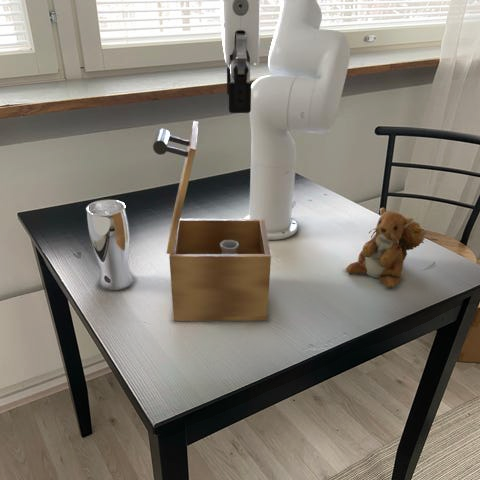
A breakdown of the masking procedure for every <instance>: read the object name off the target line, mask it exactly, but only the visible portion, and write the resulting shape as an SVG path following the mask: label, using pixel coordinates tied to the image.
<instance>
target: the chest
mask: <svg viewBox="0 0 480 480" xmlns="http://www.w3.org/2000/svg"><path fill="white" fill-rule="evenodd" d="M224 240H233V241H237V242H238V245H239V247H238V249H237V254H222V250H221V247H220V243H221V242H222V241H224ZM168 255H169V257H168V259H169V271H170V274H169V275H170V285H171V286H170V287H171V288H170V289H171V300H172V301H171V302H172V316H173V321H174V322H225V321H226V322H229V321H230V322H234V321H235V322H237V321H239V322H240V321H241V322H242V321H246V322H247V321H249V322H251V321H252V322H253V321H255V322H256V321H268V310H269V296H270V295H269V293H270V280H271V264H272V254H271V248H270V243H269V240H268V237H267V232H266V227H265V221H264V219H244V218H180V220H179V225H178V229H177V233H176V238H175V242H174V246H173V251H172V254H168Z"/></svg>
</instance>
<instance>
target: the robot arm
mask: <svg viewBox="0 0 480 480" xmlns="http://www.w3.org/2000/svg"><path fill="white" fill-rule="evenodd" d="M279 7H280V9H279V10H280V11H279V17H278V20H277V24H276V27H275V31H274V33H273V38H272V41H271V45H270V47H269V48H270V49H269V53H268V60H267V66H268V70H269V72H270V74H269V75H264V76H260V77H259V78H257V79H255V80H254V81H253V82H251V64H250V63H253V65H254V66H255V67H257V66H259V64H260V43H261V42H260V41H261V40H260V36H261V33H260V32H261V31H260V30H261V0H220V21H221V22H220V24H221V25H220V26H221V40H222V48H223V55H224V61H225V64H226V66H227V67H226V94H227V95H228V112H229V113H230V114H249V121H250V122H249V124H250V132H251V139H250V140H251V142H250V143H251V147H250V148H251V149H250V150H251V151H250V176H249V177H250V179H249V185H250V186H249V206H248V207H249V209H248V210H249V211H248V215H246V216H245V217H244V218H243V219H264V221H265V227H266V232H267V237H268V241H269V240H271V241H272V240H273V241H277V240H283V239H287V238H289V237H292V236H293V235H295V234H296V233H297V231H298V222H297V220H296V219H295V218H294V217H292V216H293V215H292V213H293V209H294V208H295V207H296V206H297V202H296V200H295V199H294V191H295V180H296V170H297V168H296V167H297V159H298V158H297V157H298V152H297V146H296V143H295V141H294V139H293V136H292V135H291V133H290V132H289V131H293V132H301V133H309V134H324V133H328V131H330V130H331V129H332V127H333V125H334V123H335V121H336V118H337V114H338V111H339V107H340V103H341V98H342V94H343V91H344V86H345V81H346V78H347V74H348V71H349V70H348V69H349V65H350V57H351V45H350V41H349V38H348V36H347V35H346V34H345V33H344V32H342V31H339V30H334V29H321V24H322V20H323V12H322V10H321V7H320V5H319V3H318V1H317V0H279Z"/></svg>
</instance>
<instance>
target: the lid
mask: <svg viewBox="0 0 480 480" xmlns="http://www.w3.org/2000/svg"><path fill="white" fill-rule="evenodd" d="M199 123H200V122H199V121H196V120H193V122H192V127H191V131H190V136H189V139H185V138H182V137H178V136H174V135H171V133H170V131H169V130H168V129H166V128H160V129H159V130H158V131H157V133H156V134H155V135H156V136H155V138H154V142H153V145H152V149H153V151H154V153H155V154H157V155H159V156H161V155H165V154H166V153H170V154H174V155H178V156H182V157H185V158H184V162H183V167H182V171H181V176H180V180H179V185H178V189H177V194H176V198H175V203H174V208H173V210H172V211H173V212H172V216H171V223H170V229H169V236H168V242H167V248H166V254H167V255H170V254H172V251H173V246H174V242H175V238H176V233H177V229H178V225H179V220H180V219H181V216H182V212H183V207H184V204H185V199H186V194H187V190H188V185H189V181H190V177H191V173H192V168H193V164H194V160H195V156H196V152H197V143H198V133H199ZM170 142H171V143H175V144H179V145H182V146H186V148H187V149H186V150H185V149H183V148H178V147H174V146H171V145H169V144H170Z"/></svg>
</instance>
